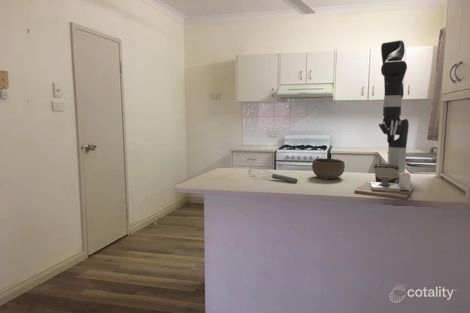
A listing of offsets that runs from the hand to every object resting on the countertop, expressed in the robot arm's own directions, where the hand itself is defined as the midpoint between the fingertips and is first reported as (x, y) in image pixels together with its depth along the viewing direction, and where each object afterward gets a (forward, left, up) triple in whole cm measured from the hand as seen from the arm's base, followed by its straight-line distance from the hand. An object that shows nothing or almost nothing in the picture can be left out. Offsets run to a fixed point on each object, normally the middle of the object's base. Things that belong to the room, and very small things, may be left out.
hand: (390, 143), depth 167 cm
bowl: (-17, -35, -23) cm, 45 cm away
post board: (+2, -1, -23) cm, 23 cm away
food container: (-18, -4, -23) cm, 30 cm away
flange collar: (+1, +1, -21) cm, 21 cm away
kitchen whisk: (+4, -59, -23) cm, 64 cm away
